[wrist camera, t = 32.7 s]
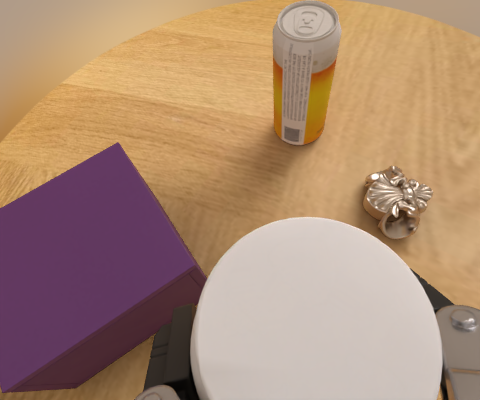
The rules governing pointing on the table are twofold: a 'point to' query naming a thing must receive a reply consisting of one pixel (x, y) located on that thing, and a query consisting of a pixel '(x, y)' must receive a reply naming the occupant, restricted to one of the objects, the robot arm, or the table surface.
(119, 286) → the lid
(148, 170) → the table surface
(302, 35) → the beer can
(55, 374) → the box
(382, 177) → the ornament
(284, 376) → the pill bottle
